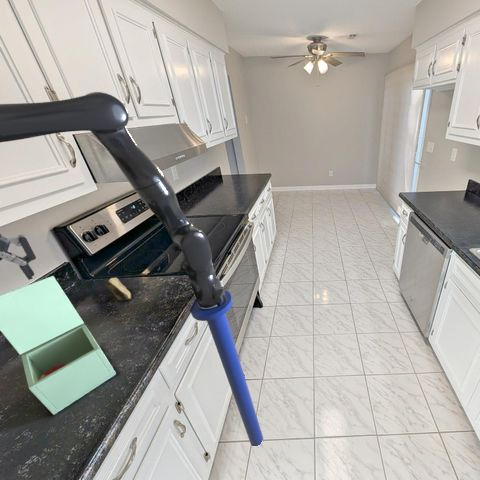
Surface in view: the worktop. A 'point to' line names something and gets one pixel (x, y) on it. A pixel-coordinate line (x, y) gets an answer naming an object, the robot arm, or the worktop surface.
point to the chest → (66, 368)
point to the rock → (118, 289)
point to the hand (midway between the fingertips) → (9, 285)
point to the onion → (52, 370)
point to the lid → (36, 314)
